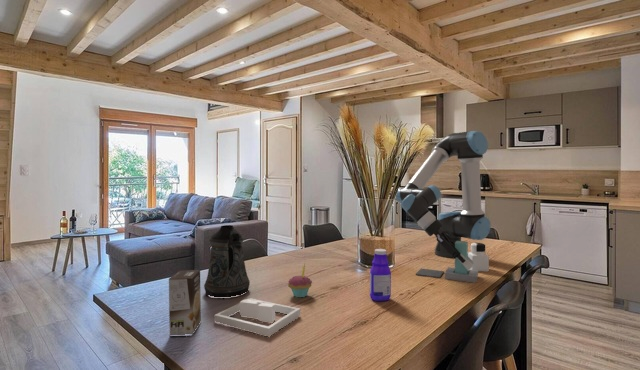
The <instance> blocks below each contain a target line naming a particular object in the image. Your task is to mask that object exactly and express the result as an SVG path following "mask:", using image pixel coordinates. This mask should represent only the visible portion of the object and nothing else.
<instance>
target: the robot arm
mask: <svg viewBox="0 0 640 370" xmlns="http://www.w3.org/2000/svg"><path fill="white" fill-rule="evenodd" d="M488 144H489V143H488V140H487V137H486V136H485V134H484V133H483V132H482V131H479V130H469V131H461V132H454V133H452V132H451V133H449V134H448V135H446V136H445V137H443V138H441V140H439V141H438V142H437V143H436V144H435V145H434V146H433V147H432V149H431V153H430V155H429V156H428V157H427V158H426V159H425V160H424V162H423V163H422V164H421V166H420V167H419V168H418V169H417V170H416V172H415V173H414V175H413V176H412V177H411V178H410V179H409V181H408V182H407V183H406V184H405V185H404V187H399V188H397V189H398V192H397V195H396V198H395V200H396V202H398V203H400V206H401V208H402V209H403V210H404V211H405V213H406V214H408V215H409V216H410V217H411V219H412V220H414V222H415V223H416V224H417V226H418V227H420V228H421V229H423V230H424V232H425V233H426V234H427V235H428V236H429V237H432V236H433V235H434V237H436V242H437V243H436V245H435V247H434V248H435V249H434V254H435V255H436V256H439V257H442V258H453V260H455V258H457V259H458V260H459V261H460V262H461V263H462V264H463V265H464V266H465V268H466V269H467V270H471V269H470V268H471V267H473V264H474V262H473V261H472V260H471V259H470V258H469V257H468V260H467V259H466V258H465V257H464V256H463V255H462V254H460V252H459V251H458V250H457V249H456V248H455V242H456V241H462V238H463V239H468V240H469V239H470V240H473V241H475V240H476V241H482V240H484V239H486V238H487V236H488V235H489V234H490V230H491V226H492V225H491V221H490V218H488V217H486V213H485V211H484V210H483V209H482V196H481V195H482V194H481V193H482V192H481V187H482V186H481V169H480V168H481V164H480V162H481V160H483V157H484V155H485V154H486V153H487V152H488V147H489V145H488ZM455 156H456V157H457V160H458V161H459V162H460V168H461V169H460V171H461V195H462V197H461V198H462V199H461V200H462V210H461V211H448V212H439V214H438V217H436V216H435V214H433V213H432V212H431V211H430V210H429V208H430V207H432V206H433V205H434V204H435V203H437V202H438V201H439V199H441V197H442V192H441V189H440V188H439V187H438V186H436V185H433V184H431V185H428V186H427V184H428V182H429V181H430V180H432V178H433V176H434V175H435V173H436V172H437V171H438V170H439V168H441V166H442V165H443V163H444V162H445V163H446V162H447V161H448V160H449V159H450V158H451V157H455ZM425 187H426V188H425ZM436 218H437V219H436Z"/></svg>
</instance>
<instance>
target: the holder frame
mask: <svg viewBox="0 0 640 370" xmlns="http://www.w3.org/2000/svg"><path fill="white" fill-rule="evenodd" d="M246 300H254V301H263V303H269V304H275V311H276V312H280V313H284V314H287V315H284V314H283V315H284V316H283V317H281V318H279V319H278V320H276V321H275V322H274V323H273V324H269V325H264V324H259V323H255V322H252V321H247V320H244V319H240V318H235V317H233V316H232V317H228V316H229V315H231V314H234V313H235V312H237V311H239V310H240V302H238V303H236V304H235V305H232V306H230V307H228V308H226V309H224V310H221V311H219V312H218V313H216V314H214V316H213V317H214V318H213V319H214V322H215V321H216V322H220V323H223V324H227V325H230V326H234V327H238V328H241V329H245V330H249V331H252V332H256V333H259V334H262V335H266V336H270V335H272V334H273V333H275V332H276V331H278V330H279V329H281V328H283V327H284V326H286V325H287V326H289V325H290V324H292V323H293V322H294V321H296V320H297V319H299V318H300V317H301V308H299V307H293V306H291V305H290V306H289V305H286V304H279V303H275V302H270V301H265V300H262V299H261V300H260V299H255V298H251V297H248V298H247V299H246ZM280 313H279V314H280ZM299 316H300V317H299ZM298 317H299V318H298ZM295 319H296V320H295ZM292 321H293V322H292ZM289 323H290V324H289ZM288 324H289V325H288ZM287 326H286V327H287ZM284 328H285V327H284ZM284 328H283V329H284ZM281 330H282V329H281ZM278 332H279V331H278ZM275 334H276V333H275ZM272 336H273V335H272Z"/></svg>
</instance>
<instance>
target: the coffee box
mask: <svg viewBox="0 0 640 370" xmlns="http://www.w3.org/2000/svg"><path fill="white" fill-rule="evenodd" d="M201 296H202V295H201V270H200V269H186V270H178V271H177V272H175V274H173V275H171V277H169V278H168V305H169V306H168V310H169V312H168V313H169V319H168V320H169V322H168V323H169V336H170V335H185V334H193V332H194V331H195V329H196V328H197V326H198V325H199V323H200V321H201V322H202V312H201V311H202V310H201V309H202V308H201V307H202V305H201V303H202V301H201V299H202V298H201ZM200 324H201V323H200ZM199 326H200V325H199ZM199 326H198V327H199ZM197 329H198V328H197ZM195 332H196V331H195ZM193 335H194V334H193Z"/></svg>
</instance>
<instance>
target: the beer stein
mask: <svg viewBox="0 0 640 370" xmlns="http://www.w3.org/2000/svg"><path fill="white" fill-rule="evenodd" d="M244 239H245V238H244V237H243V235H242V234H241V233H240V232H239V231H237V229H235V228H234V226H233V225H232V224H231V225H228V224H227V225H225V224H224V225H221V226H220V228H219V230H217V232H215V233H214V234H212V235H211V236H210V237H209V241H208V242H209V244H210V247H211V248H210V255H209V264H208V265H209V266H208V271H207V277H206V278H205V279H206V280H205V283H204V285H203V288H204V291H205V295H206V294H207V295H210V296H214V297H231V296H236V295H241V294H243V293H245V292H247V291H248V292H249V290H248V289H249V288H250V284H251V283H250V279H249V276H248V273H247V268H246V264H245V263H246V262H245V259H244V258H245V256H244V248H243V242H244ZM248 292H247V293H248Z"/></svg>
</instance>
